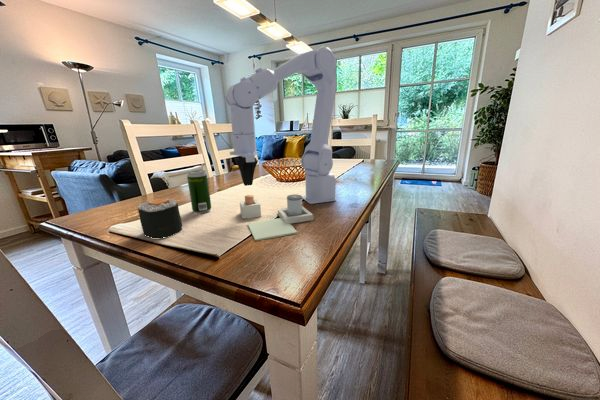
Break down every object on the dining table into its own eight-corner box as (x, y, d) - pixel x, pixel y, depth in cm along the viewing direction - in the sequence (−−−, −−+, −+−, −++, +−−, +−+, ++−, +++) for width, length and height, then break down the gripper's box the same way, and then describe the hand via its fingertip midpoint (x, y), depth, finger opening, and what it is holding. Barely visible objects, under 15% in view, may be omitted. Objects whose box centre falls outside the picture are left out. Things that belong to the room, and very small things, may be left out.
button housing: (257, 210, 74) (256, 199, 73) (261, 216, 69) (260, 204, 68) (240, 212, 72) (239, 201, 71) (243, 218, 68) (242, 206, 67)
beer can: (214, 211, 74) (209, 171, 70) (196, 215, 71) (189, 174, 67) (208, 206, 78) (202, 169, 74) (190, 210, 75) (184, 171, 71)
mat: (284, 218, 67) (284, 217, 67) (297, 233, 58) (297, 231, 58) (247, 224, 64) (247, 223, 64) (255, 241, 55) (255, 239, 55)
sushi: (167, 222, 66) (162, 194, 64) (188, 228, 62) (183, 198, 60) (136, 234, 59) (129, 203, 57) (158, 241, 56) (151, 208, 53)
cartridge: (299, 213, 71) (298, 193, 69) (304, 218, 67) (304, 197, 65) (285, 215, 69) (285, 195, 68) (290, 220, 66) (289, 199, 64)
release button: (253, 202, 71) (252, 194, 71) (254, 205, 69) (254, 196, 68) (244, 203, 71) (244, 195, 70) (246, 206, 68) (245, 197, 68)
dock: (302, 210, 73) (302, 206, 72) (313, 219, 66) (313, 214, 66) (277, 214, 70) (277, 209, 70) (286, 224, 64) (285, 218, 63)
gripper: (225, 133, 69) (230, 180, 73) (230, 135, 56) (236, 193, 60) (250, 132, 71) (254, 178, 76) (261, 134, 59) (264, 189, 63)
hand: (248, 184), depth 68 cm, fingers closed
